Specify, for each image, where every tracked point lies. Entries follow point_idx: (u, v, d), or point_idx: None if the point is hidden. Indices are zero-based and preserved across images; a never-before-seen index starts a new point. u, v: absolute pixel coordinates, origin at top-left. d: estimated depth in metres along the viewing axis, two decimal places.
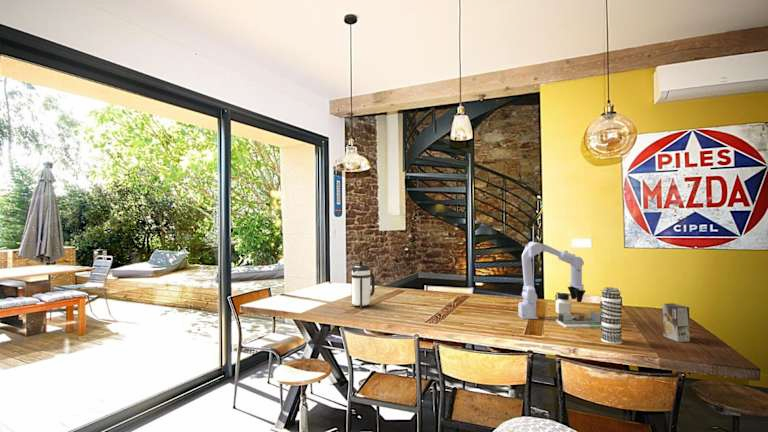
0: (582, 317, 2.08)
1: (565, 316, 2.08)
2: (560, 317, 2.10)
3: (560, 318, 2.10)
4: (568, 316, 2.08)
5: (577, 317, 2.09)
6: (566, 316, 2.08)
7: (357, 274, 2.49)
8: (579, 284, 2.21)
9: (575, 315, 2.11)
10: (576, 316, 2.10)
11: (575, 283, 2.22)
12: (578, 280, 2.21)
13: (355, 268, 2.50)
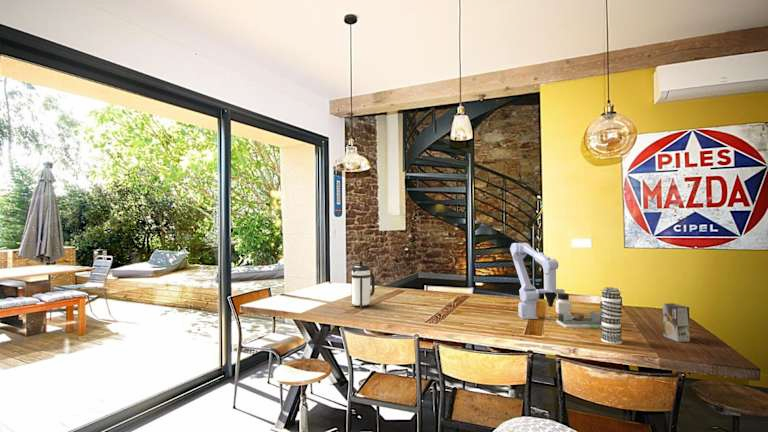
0: (582, 317, 2.08)
1: (565, 316, 2.08)
2: (560, 317, 2.10)
3: (560, 318, 2.10)
4: (568, 316, 2.08)
5: (577, 317, 2.09)
6: (566, 316, 2.08)
7: (357, 274, 2.49)
8: (545, 288, 2.10)
9: (575, 315, 2.11)
10: (576, 316, 2.10)
11: None
12: (545, 284, 2.10)
13: (355, 268, 2.50)
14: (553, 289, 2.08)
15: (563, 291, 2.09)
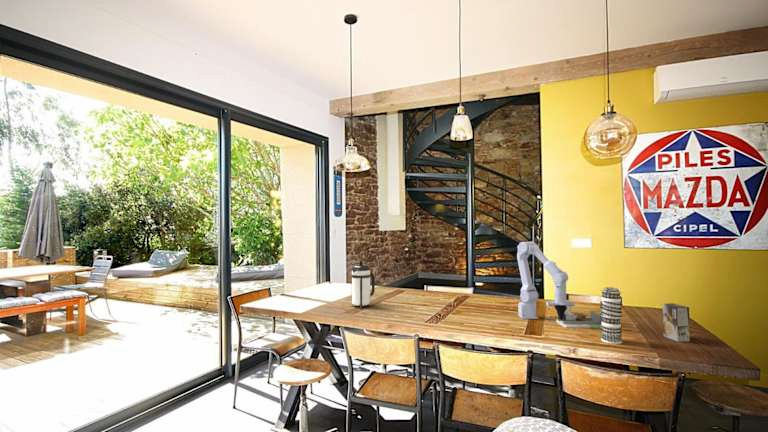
0: (584, 317, 2.08)
1: (568, 316, 2.08)
2: (563, 317, 2.10)
3: (563, 318, 2.10)
4: (571, 316, 2.08)
5: (578, 317, 2.09)
6: (568, 316, 2.08)
7: (357, 274, 2.49)
8: (555, 301, 2.10)
9: (577, 315, 2.11)
10: (578, 316, 2.10)
11: None
12: (555, 296, 2.10)
13: (355, 268, 2.50)
14: (563, 302, 2.07)
15: (573, 304, 2.09)
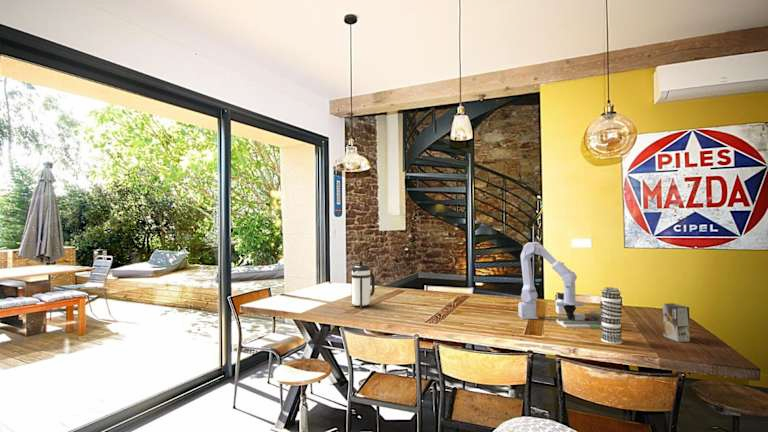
0: (593, 317, 2.08)
1: (577, 316, 2.08)
2: (572, 317, 2.10)
3: None
4: (580, 316, 2.08)
5: (587, 317, 2.09)
6: (578, 317, 2.08)
7: (357, 274, 2.49)
8: (564, 301, 2.10)
9: (586, 315, 2.11)
10: (587, 316, 2.10)
11: None
12: (564, 296, 2.10)
13: (355, 268, 2.50)
14: (572, 302, 2.07)
15: (582, 304, 2.09)
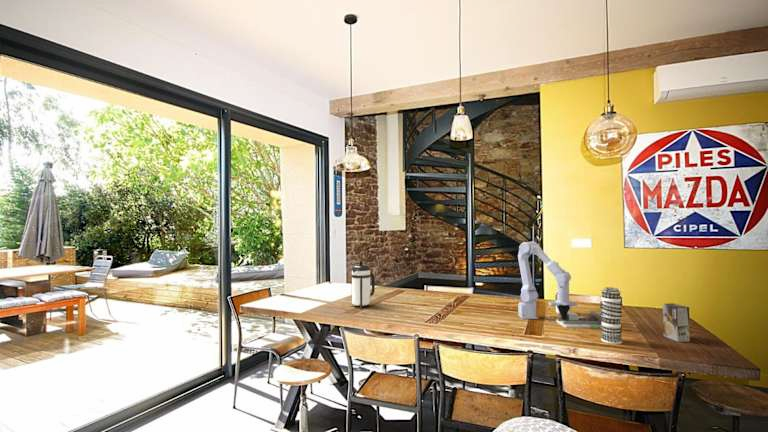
0: (593, 317, 2.07)
1: (571, 316, 2.08)
2: (566, 317, 2.10)
3: (566, 318, 2.10)
4: (574, 316, 2.08)
5: (588, 317, 2.09)
6: (572, 316, 2.08)
7: (357, 274, 2.49)
8: (558, 301, 2.10)
9: (586, 315, 2.11)
10: (587, 316, 2.10)
11: None
12: (558, 296, 2.10)
13: (355, 268, 2.50)
14: (566, 302, 2.07)
15: (576, 304, 2.09)
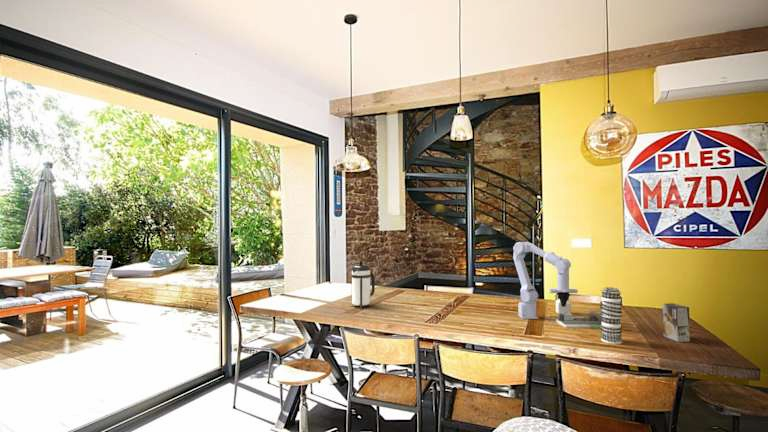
0: (593, 317, 2.07)
1: (566, 316, 2.08)
2: (561, 317, 2.10)
3: (561, 318, 2.10)
4: (569, 316, 2.08)
5: (588, 317, 2.09)
6: (567, 316, 2.08)
7: (357, 274, 2.49)
8: (558, 288, 2.10)
9: (586, 315, 2.11)
10: (587, 316, 2.10)
11: None
12: (558, 284, 2.10)
13: (355, 268, 2.50)
14: (566, 289, 2.07)
15: (576, 291, 2.09)
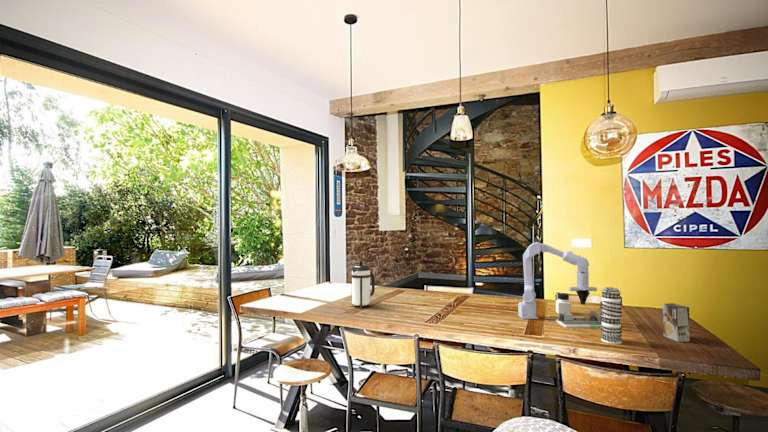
0: (593, 317, 2.07)
1: (566, 316, 2.08)
2: (561, 317, 2.10)
3: (561, 318, 2.10)
4: (569, 316, 2.08)
5: (588, 317, 2.09)
6: (567, 316, 2.08)
7: (357, 274, 2.49)
8: (578, 286, 2.12)
9: (586, 315, 2.11)
10: (587, 316, 2.10)
11: (577, 285, 2.14)
12: (577, 282, 2.13)
13: (355, 268, 2.50)
14: (586, 287, 2.10)
15: (595, 289, 2.12)
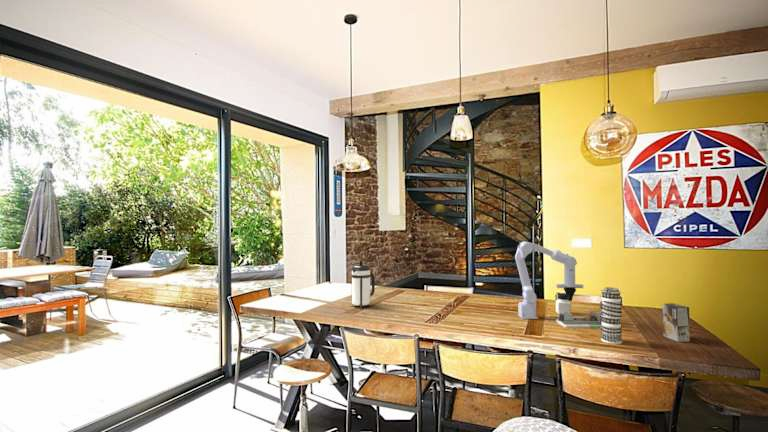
0: (593, 317, 2.07)
1: (566, 316, 2.08)
2: (561, 317, 2.10)
3: (561, 318, 2.10)
4: (569, 316, 2.08)
5: (588, 317, 2.09)
6: (567, 316, 2.08)
7: (357, 274, 2.49)
8: (565, 283, 2.21)
9: (586, 315, 2.11)
10: (587, 316, 2.10)
11: (564, 282, 2.23)
12: (564, 279, 2.22)
13: (355, 268, 2.50)
14: (572, 284, 2.19)
15: (582, 286, 2.21)
